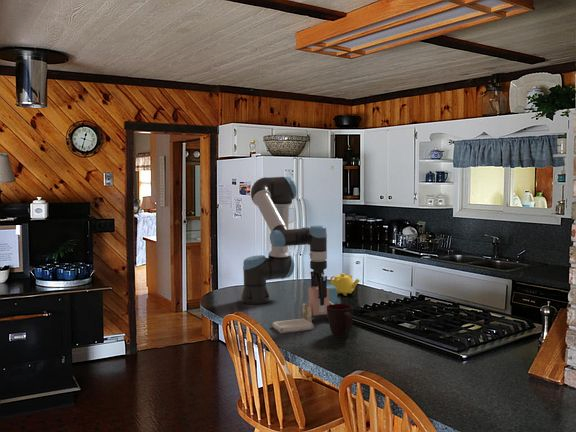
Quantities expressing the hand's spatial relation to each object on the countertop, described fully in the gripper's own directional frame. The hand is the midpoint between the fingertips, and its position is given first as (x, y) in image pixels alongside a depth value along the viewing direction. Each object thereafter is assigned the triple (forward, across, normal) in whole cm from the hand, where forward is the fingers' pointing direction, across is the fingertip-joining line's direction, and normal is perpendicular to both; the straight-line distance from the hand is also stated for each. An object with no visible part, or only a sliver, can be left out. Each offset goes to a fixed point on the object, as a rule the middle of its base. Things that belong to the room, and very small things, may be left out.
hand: (318, 310), depth 260 cm
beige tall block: (+1, 0, 0) cm, 1 cm away
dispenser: (+4, 0, 0) cm, 4 cm away
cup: (+4, +28, -2) cm, 29 cm away
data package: (+5, -14, +11) cm, 18 cm away
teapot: (+5, -43, +34) cm, 55 cm away
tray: (+4, +8, -16) cm, 18 cm away
